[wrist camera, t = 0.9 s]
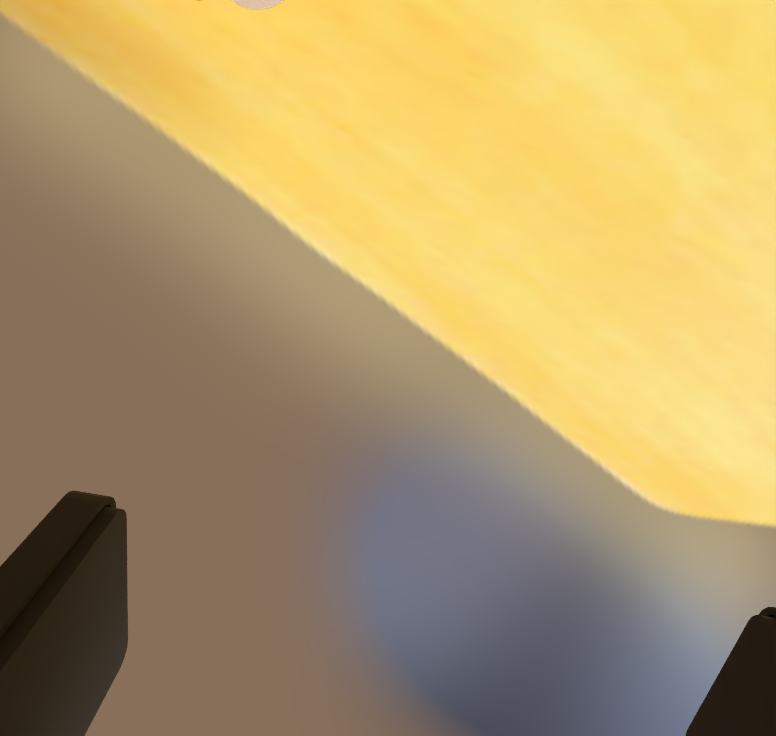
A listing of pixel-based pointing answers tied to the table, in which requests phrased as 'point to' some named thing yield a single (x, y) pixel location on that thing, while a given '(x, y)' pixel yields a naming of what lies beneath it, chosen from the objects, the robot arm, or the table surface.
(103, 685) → the robot arm
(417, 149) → the table surface
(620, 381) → the table surface
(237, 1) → the wineglass
